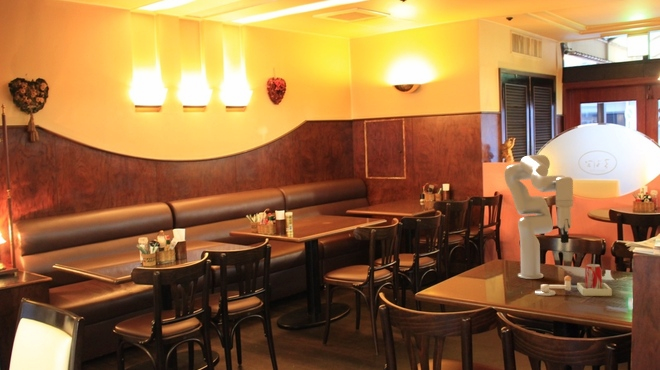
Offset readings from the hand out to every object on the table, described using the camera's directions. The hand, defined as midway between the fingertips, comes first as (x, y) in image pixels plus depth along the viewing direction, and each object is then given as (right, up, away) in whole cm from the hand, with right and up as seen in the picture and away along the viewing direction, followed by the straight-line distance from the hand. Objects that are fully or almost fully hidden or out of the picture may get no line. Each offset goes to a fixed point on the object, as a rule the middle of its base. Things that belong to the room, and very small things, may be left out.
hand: (564, 242), depth 297 cm
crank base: (-10, -24, -3) cm, 26 cm away
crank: (-5, -22, -4) cm, 23 cm away
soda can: (+12, -22, -3) cm, 26 cm away
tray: (+12, -23, -4) cm, 26 cm away
